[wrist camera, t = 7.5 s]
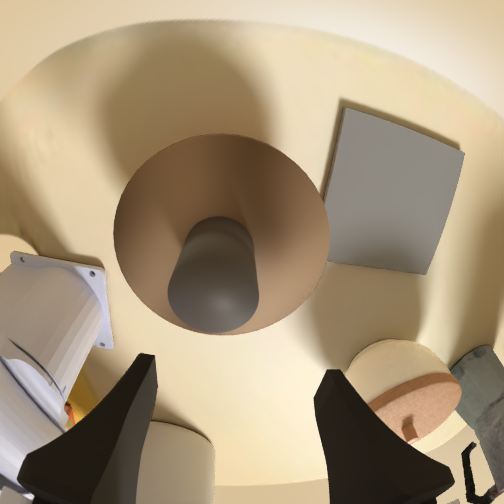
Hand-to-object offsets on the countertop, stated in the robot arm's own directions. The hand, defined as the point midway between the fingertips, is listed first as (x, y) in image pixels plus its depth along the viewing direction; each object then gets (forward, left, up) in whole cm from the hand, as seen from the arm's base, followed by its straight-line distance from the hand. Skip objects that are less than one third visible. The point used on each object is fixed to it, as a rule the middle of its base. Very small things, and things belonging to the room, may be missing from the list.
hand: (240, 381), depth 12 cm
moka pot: (+30, -11, -10) cm, 34 cm away
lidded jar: (+14, -8, -10) cm, 19 cm away
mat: (+9, +7, -10) cm, 15 cm away
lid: (-2, +4, -5) cm, 7 cm away
